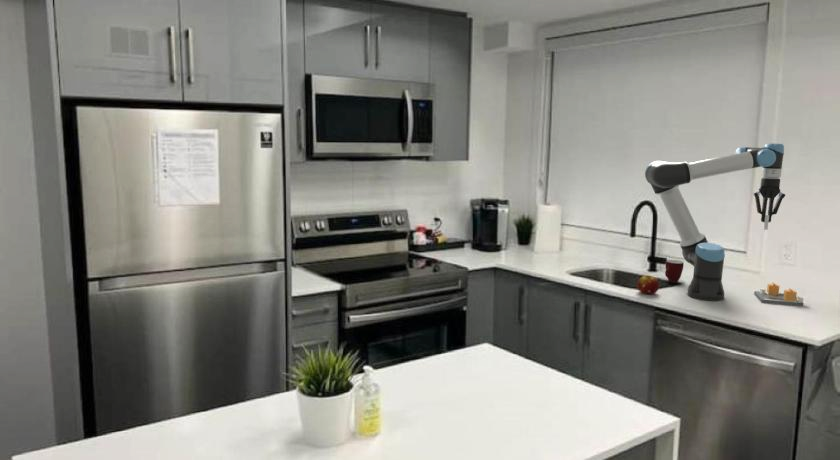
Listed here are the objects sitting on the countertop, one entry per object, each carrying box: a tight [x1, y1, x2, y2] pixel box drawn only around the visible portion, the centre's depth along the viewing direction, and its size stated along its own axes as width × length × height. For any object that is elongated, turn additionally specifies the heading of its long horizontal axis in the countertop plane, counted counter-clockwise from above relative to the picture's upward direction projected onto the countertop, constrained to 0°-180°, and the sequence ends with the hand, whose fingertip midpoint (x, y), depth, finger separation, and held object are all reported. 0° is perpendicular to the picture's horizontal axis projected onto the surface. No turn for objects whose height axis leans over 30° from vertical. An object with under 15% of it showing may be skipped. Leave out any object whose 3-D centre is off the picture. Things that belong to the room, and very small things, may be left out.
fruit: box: [636, 274, 660, 295], centre depth 275 cm, size 10×9×8 cm
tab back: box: [766, 282, 780, 295], centre depth 272 cm, size 4×3×5 cm
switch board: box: [753, 287, 805, 307], centre depth 268 cm, size 16×14×4 cm
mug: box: [664, 259, 685, 283], centre depth 296 cm, size 10×8×10 cm
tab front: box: [783, 288, 798, 301], centre depth 262 cm, size 4×3×5 cm
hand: (764, 229), depth 277 cm, fingers closed
